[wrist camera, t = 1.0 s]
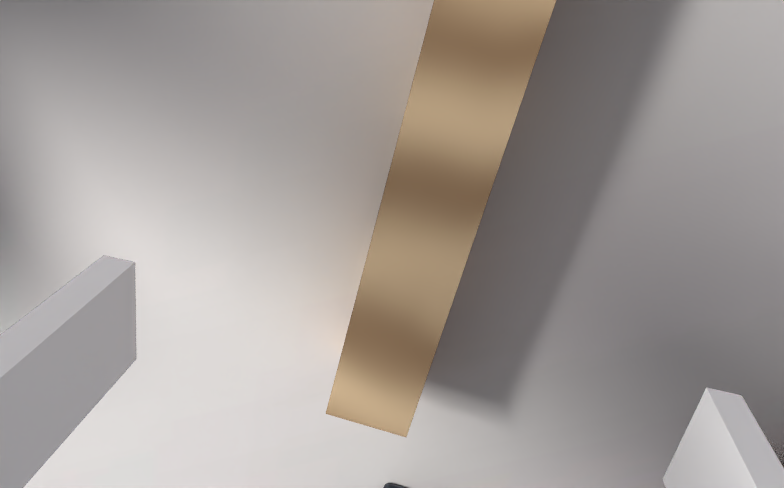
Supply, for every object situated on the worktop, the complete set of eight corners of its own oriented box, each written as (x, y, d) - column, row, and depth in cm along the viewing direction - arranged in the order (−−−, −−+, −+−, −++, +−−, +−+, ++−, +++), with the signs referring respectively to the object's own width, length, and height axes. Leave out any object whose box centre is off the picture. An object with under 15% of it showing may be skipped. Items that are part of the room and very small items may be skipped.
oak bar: (416, 374, 34) (406, 437, 30) (346, 353, 35) (325, 413, 30) (579, -114, 24) (601, -130, 20) (478, -141, 24) (477, -165, 20)
